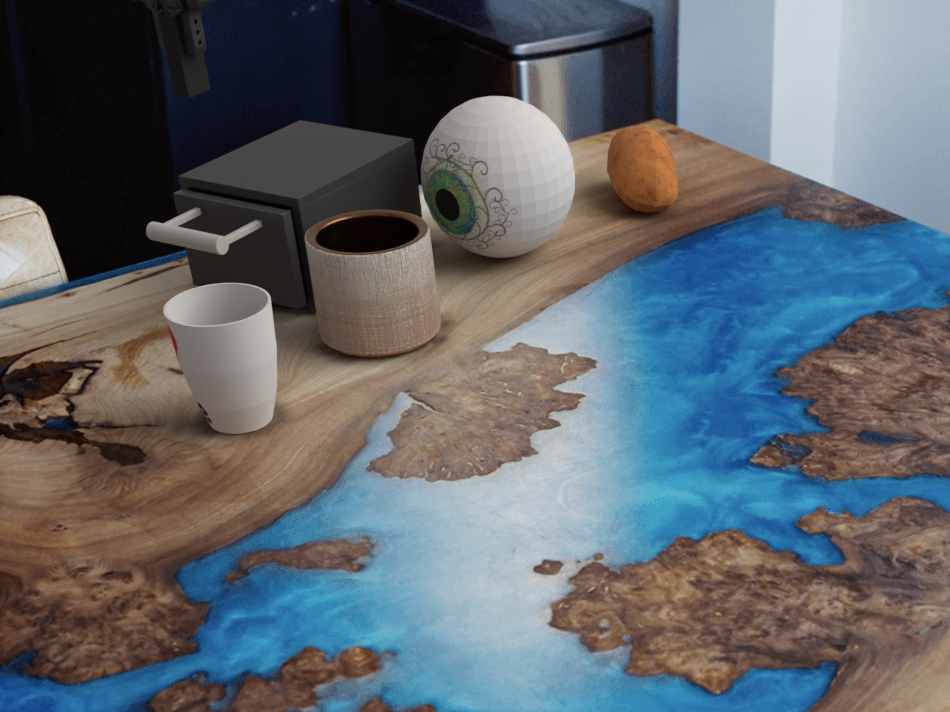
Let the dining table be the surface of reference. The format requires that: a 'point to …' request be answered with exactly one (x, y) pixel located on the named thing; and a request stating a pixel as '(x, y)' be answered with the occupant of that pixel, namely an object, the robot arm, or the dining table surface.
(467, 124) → the decorative object
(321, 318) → the planter
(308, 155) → the cabinet
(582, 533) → the dining table surface
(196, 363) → the cup
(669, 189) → the potato
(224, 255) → the drawer
